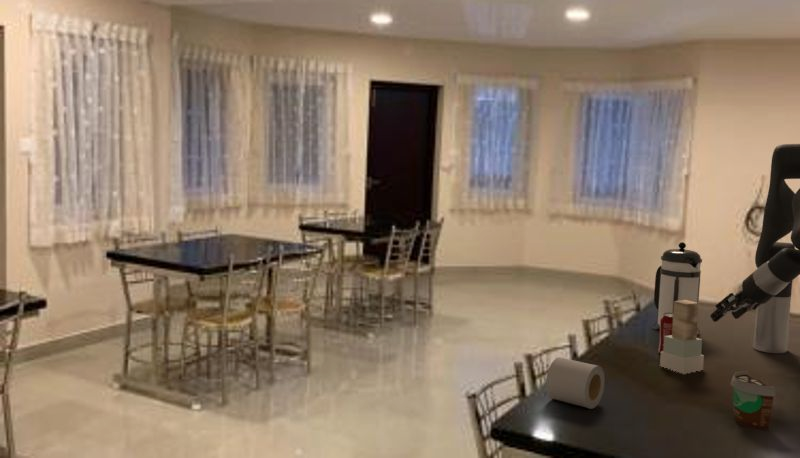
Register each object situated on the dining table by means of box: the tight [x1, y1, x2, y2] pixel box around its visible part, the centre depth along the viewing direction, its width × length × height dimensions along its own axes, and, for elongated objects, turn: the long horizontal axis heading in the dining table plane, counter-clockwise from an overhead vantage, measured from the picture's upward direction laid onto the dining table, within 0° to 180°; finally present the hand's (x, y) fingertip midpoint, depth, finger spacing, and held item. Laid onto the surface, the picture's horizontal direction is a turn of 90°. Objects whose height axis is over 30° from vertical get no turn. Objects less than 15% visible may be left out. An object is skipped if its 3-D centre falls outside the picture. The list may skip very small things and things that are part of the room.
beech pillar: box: [672, 300, 699, 340], centre depth 217 cm, size 4×4×10 cm
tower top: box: [663, 335, 703, 358], centre depth 218 cm, size 7×7×4 cm
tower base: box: [659, 351, 705, 375], centre depth 218 cm, size 8×8×4 cm
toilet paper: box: [545, 356, 606, 410], centre depth 186 cm, size 10×10×10 cm
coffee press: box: [652, 241, 703, 335], centre depth 262 cm, size 17×16×30 cm
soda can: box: [657, 313, 673, 354], centre depth 233 cm, size 7×7×12 cm
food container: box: [730, 370, 776, 430], centre depth 177 cm, size 12×6×10 cm, turn 5°
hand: (723, 317), depth 207 cm, fingers open, 8 cm apart
